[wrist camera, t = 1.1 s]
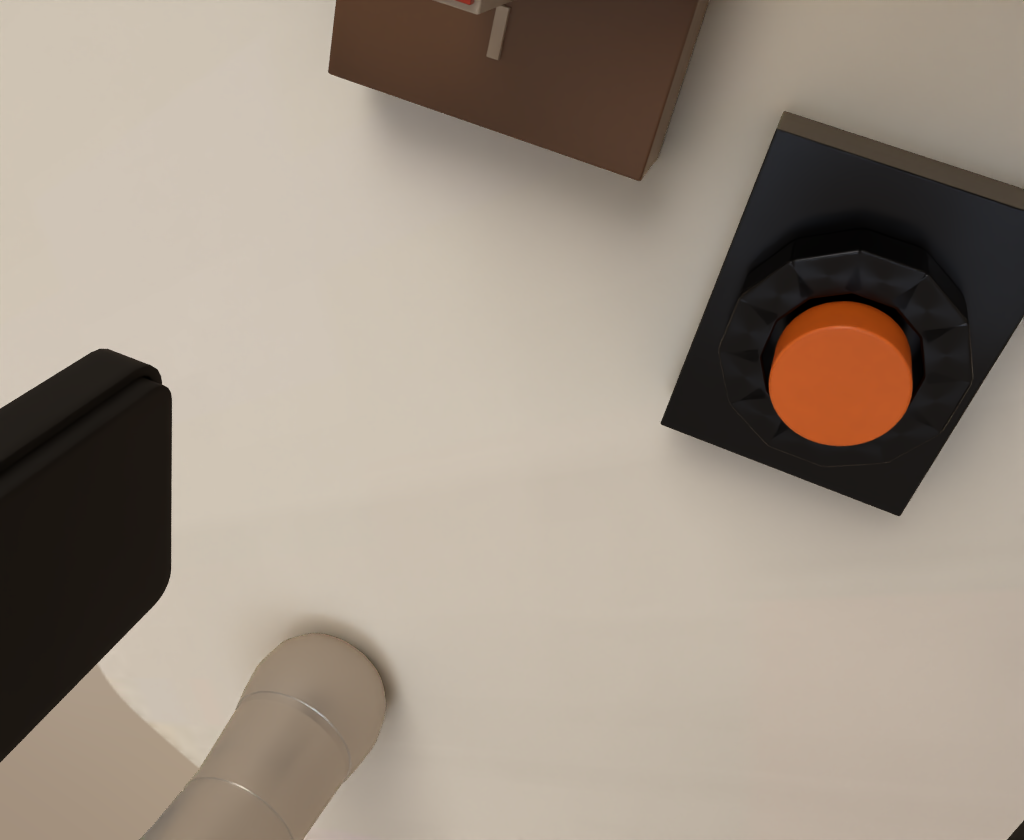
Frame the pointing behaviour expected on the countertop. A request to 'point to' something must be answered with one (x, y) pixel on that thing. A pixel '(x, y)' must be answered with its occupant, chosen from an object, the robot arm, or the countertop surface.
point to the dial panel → (532, 68)
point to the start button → (841, 374)
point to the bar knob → (474, 4)
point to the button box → (856, 300)
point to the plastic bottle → (283, 746)
